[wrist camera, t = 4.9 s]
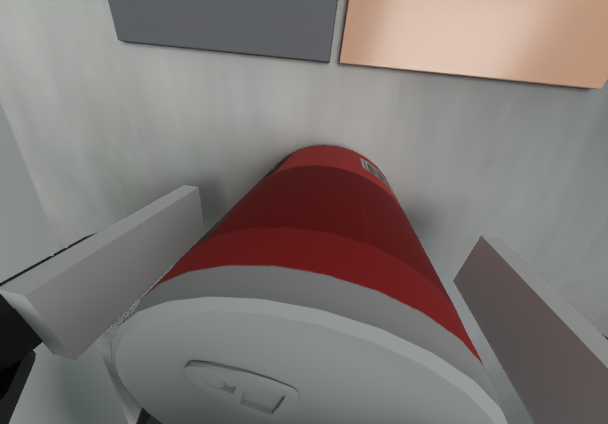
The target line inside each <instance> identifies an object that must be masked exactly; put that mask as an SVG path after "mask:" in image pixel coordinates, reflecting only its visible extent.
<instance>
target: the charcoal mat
mask: <svg viewBox="0 0 608 424" xmlns="http://www.w3.org/2000/svg"><path fill="white" fill-rule="evenodd" d="M108 1H109V5H110V9H111V13H112V17H113V21H114V25H115V29H116V33H117V37H118V40H120V41H124V42H132V43H141V44H151V45H161V46H171V47H181V48H191V49H201V50H210V51H220V52H230V53H240V54H250V55H260V56H270V57H279V58H289V59H299V60H309V61H319V62H330V55H331V47H332V40H333V32H334V24H335V17H336V9H337V1H338V0H108Z"/></svg>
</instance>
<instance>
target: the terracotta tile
mask: <svg viewBox="0 0 608 424" xmlns="http://www.w3.org/2000/svg"><path fill="white" fill-rule="evenodd" d="M340 64H348V65H358V66H368V67H378V68H388V69H398V70H407V71H417V72H427V73H437V74H447V75H457V76H467V77H476V78H486V79H496V80H506V81H516V82H526V83H535V84H545V85H555V86H565V87H575V88H585V89H601V88H602V87H603V85H604V84H605V82H606V81H607V79H608V0H349V3H348V10H347V16H346V23H345V30H344V36H343V43H342V50H341V56H340Z"/></svg>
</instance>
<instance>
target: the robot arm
mask: <svg viewBox="0 0 608 424" xmlns="http://www.w3.org/2000/svg"><path fill="white" fill-rule="evenodd" d="M204 234H205V227H204V220H203V214H202V207H201V201H200V194H199V188H198V187H195V186H189V185H183V186H181V187H179V188H177V189H175V190H174V191H172V192H170V193H168V194H166V195H165V196H163V197H161V198H159V199H157V200H156V201H154V202H152V203H150V204H148V205H147V206H145V207H143V208H141V209H139V210H138V211H136V212H134V213H132V214H130V215H129V216H127V217H125V218H123V219H121V220H120V221H118V222H116V223H114V224H112V225H110V226H109V227H107V228H105V229H103V230H101V231H100V232H98V233H95V234H92V235H89V236H87V237H84V238H82V239H81V240H79V241H77V242H75V243H73V244H71V245H70V246H68V248H64V249H62V250H60V251H59V252H57V253H55V254H54V256H49V257H48V258H46V259H44V260H42V261H40V262H39V263H37V264H35V265H33V266H31V267H29V268H27V269H26V270H24V271H22V272H20V273H18V274H16V275H15V276H13V277H11V278H9V279H7V280H5V281H3V282H2V283H0V424H9V421H10V419H11V417H12V414H13V412H14V409H15V407H16V404H17V402H18V400H19V397H20V395H21V392H22V390H23V388H24V385H25V383H26V381H27V378H28V376H29V373H30V371H31V369H32V366H33V364H34V361H35V356H36V353H35V352H34V351H33V349H34V348H36V347H37V346H38V345H39V344H41V343H42V342H43V343H44V344H45V345H46V346H47V347H48V348H49V350H50V351H51V352H52V353H53V354H57V355H60V356H64V357H68V358H71V359H75V360H76V359H77V358H78V357H79V356H80V355H81V354H82V353H83V352H84V351H85V350H86V349H87V348H88V347H89V346H90V345H91V344H92V343H93V342H94V341H95V340H96V339H97V338H98V337H99V336H100V335H101V334H102V333H103V332H104V331H105V330H107V329H108V328H109V327H110V326H111V325H112V324H113V323H114V322H115V321H116V320H117V319H118V318H119V317H120V316H121V315H122V314H123V313H124V312H125V311H126V310H127V309H128V308H129V307H130V306H131V305H132V304H133V303H134V302H135V301H136V300H137V299H138V298H139V297H140V296H141V295H142V294H143V293H144V292H145V291H146V290H147V289H148V288H149V287H151V286H152V285H153V284H154V283H155V282H156V281H157V280H158V279H159V278H160V277H161V276H162V275H163V274H164V273H165V272H166V271H167V270H168V269H169V268H170V267H171V266H172V265H173V264H174V263H175V262H176V261H177V260H178V259H179V258H180V257H181V256H182V255H183V254H184V253H185V252H186V251H187V250H188V249H189V248H190V247H191V246H192V245H193V244H195V243H196V242H197V241H198V240H199V239H200V238H201V237H202V236H203V235H204ZM453 281H454V283H455V285H456V286H457V288H458V290H459V292H460V293H461V295H462V297H463V299H464V300H465V302H466V304H467V306H468V307H469V309H470V311H471V313H472V315H473V316H474V318H475V320H476V322H477V323H478V325H479V327H480V329H481V330H482V332H483V334H484V336H485V337H486V339H487V341H488V343H489V344H490V346H491V348H492V350H493V351H494V353H495V355H496V357H497V358H498V360H499V362H500V364H501V365H502V367H503V369H504V371H505V372H506V374H507V376H508V378H509V379H510V381H511V383H512V385H513V386H514V388H515V390H516V392H517V393H518V395H519V397H520V399H521V400H522V402H523V404H524V406H525V407H526V409H527V411H528V413H529V414H530V416H531V418H532V420H533V421H534V423H535V424H608V338H607V337H606V336H604V335H603V334H601V333H600V332H599V331H598V330H597V329H596V328H595V327H594V326H593V325H592V324H591V323H589V322H588V321H587V320H586V319H585V318H584V317H583V316H582V315H581V314H580V313H579V312H578V311H577V310H576V309H575V308H574V307H572V306H571V305H570V304H569V303H568V302H567V301H566V300H565V299H564V298H563V297H562V296H561V295H560V294H559V293H558V292H557V291H555V290H554V289H553V288H552V287H551V286H550V285H549V284H548V283H547V282H546V281H545V280H544V279H543V278H542V277H541V276H540V275H538V274H537V273H536V272H535V271H534V270H533V269H532V268H531V267H530V266H529V265H528V264H527V263H526V262H525V261H524V260H522V259H521V258H520V257H519V256H518V255H517V254H516V253H515V252H514V251H513V250H512V249H511V248H510V247H509V246H508V245H507V244H505V243H504V242H503V241H502V240H501V239H499V238H493V237H487V236H481V237H480V239H479V240H478V242H477V243H476V245H475V247H474V248H473V250H472V251H471V253H470V255H469V256H468V258H467V259H466V261H465V263H464V264H463V266H462V268H461V269H460V271H459V272H458V274H457V276H456V277H455V279H454V280H453ZM136 424H162V423H161V422H160V421H158V420H157V419H156V418H154V417H153V416H152V415H151V414H149V413H148V412H147V411H146V410H145V409H144V408H143V407H142V410H141V412H140V415H139V418H138V420H137V423H136Z"/></svg>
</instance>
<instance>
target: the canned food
mask: <svg viewBox="0 0 608 424" xmlns="http://www.w3.org/2000/svg"><path fill="white" fill-rule="evenodd" d="M111 355H112V361H113V364H114V366H115V369H116V372H117V374H118V376H119V378H120V380H121V382H122V383H123V385H124V386H125V387H126V389H127V390H128V392H129V393H130V394H131V396H132V397H133V398H134V399H135V400H136V401H137V402H138V403H139V404H140V405H141V406H142V407H143V408H144V409H145V410H146V411H147V412H148V413H149V414H151V415H152V416H153V417H154V418H156V419H157V420H158V421H160V422H161V423H162V424H508V423H507V421H506V419H505V417H504V415H503V412H502V410H501V408H500V406H499V404H498V400H497V396H496V392H495V389H494V387H493V385H492V383H491V380H490V378H489V376H488V374H487V372H486V370H485V367H484V365H483V363H482V361H481V359H480V357H479V356H478V354H477V352H476V350H475V348H474V346H473V344H472V342H471V340H470V338H469V336H468V334H467V333H466V331H465V328H464V326H463V324H462V322H461V320H460V318H459V316H458V313H457V311H456V309H455V307H454V305H453V303H452V301H451V300H450V298H449V296H448V294H447V292H446V290H445V288H444V286H443V285H442V283H441V281H440V279H439V277H438V275H437V273H436V271H435V270H434V268H433V266H432V264H431V262H430V260H429V258H428V256H427V255H426V253H425V251H424V249H423V247H422V245H421V243H420V241H419V240H418V238H417V236H416V234H415V232H414V230H413V228H412V226H411V225H410V223H409V221H408V219H407V217H406V215H405V213H404V212H403V210H402V208H401V206H400V204H399V202H398V200H397V198H396V197H395V195H394V193H393V191H392V189H391V187H390V185H389V183H388V182H387V180H386V178H385V176H384V175H383V174H382V173H381V171H380V170H379V169H378V168H377V166H375V165H374V164H373V163H372V162H370V161H369V160H368V159H367V158H365V157H363V156H362V155H360V154H358V153H356V152H354V151H351V150H348V149H345V148H341V147H336V146H326V145H323V146H312V147H307V148H304V149H301V150H298V151H296V152H294V153H292V154H290V155H288V156H287V157H285V158H284V159H283V160H282V161H280V162H279V163H278V164H277V165H276V166H275V167H274V168H273V169H272V170H271V171H270V172H269V173H268V174H267V175H266V176H265V177H264V178H263V179H262V180H261V181H260V182H259V183H257V184H256V185H255V186H254V187H253V188H252V189H251V190H250V191H249V192H248V193H247V194H246V195H245V196H244V197H243V198H242V199H241V200H240V201H239V202H238V203H237V204H236V205H235V206H234V207H233V208H232V209H231V210H230V211H229V212H228V213H227V214H226V215H225V216H224V217H223V218H222V219H221V220H220V221H219V222H218V223H216V224H215V225H214V226H213V227H212V228H211V229H210V230H209V231H208V232H207V233H206V234H205V235H204V236H203V237H202V238H201V239H200V240H199V241H198V242H197V243H196V244H195V245H194V246H193V247H192V248H191V249H190V250H189V251H188V252H187V253H186V254H185V255H184V256H183V257H182V258H181V259H180V260H179V261H178V262H177V263H176V264H175V265H174V266H173V268H172V269H171V270H170V271H169V272H168V273H167V274H166V275H165V276H164V277H163V278H162V279H161V280H160V281H159V282H158V283H157V284H156V285H155V286H154V287H153V288H152V289H151V290H150V291H149V292H148V293H147V294H146V295H145V296H144V297H143V298H142V299H141V301H140V302H139V304H138V306H137V307H136V309H135V311H134V312H133V313H132V314H131V315H130V316H129V317H128V318H127V319H126V320H125V321H124V322H123V323H122V324H121V325H120V326H119V328H118V330H117V332H116V334H115V336H114V338H113V340H112V342H111Z"/></svg>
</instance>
